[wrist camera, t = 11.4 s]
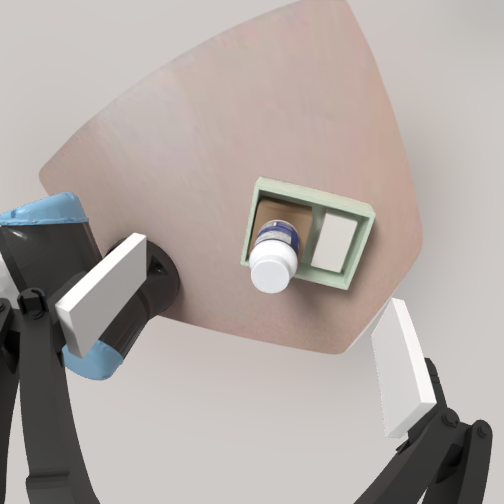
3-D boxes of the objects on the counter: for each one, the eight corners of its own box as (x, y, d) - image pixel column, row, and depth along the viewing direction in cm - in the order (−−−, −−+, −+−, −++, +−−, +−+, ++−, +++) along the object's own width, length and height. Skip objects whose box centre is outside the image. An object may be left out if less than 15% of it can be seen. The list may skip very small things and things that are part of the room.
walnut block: (254, 239, 45) (248, 254, 41) (263, 195, 42) (258, 206, 38) (299, 250, 45) (298, 266, 41) (311, 207, 42) (312, 219, 37)
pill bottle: (294, 260, 40) (289, 304, 32) (254, 251, 41) (240, 292, 32) (304, 224, 38) (302, 261, 29) (262, 214, 38) (248, 248, 29)
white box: (310, 255, 45) (310, 265, 42) (325, 206, 41) (326, 214, 39) (338, 262, 45) (339, 272, 42) (354, 214, 41) (357, 222, 38)
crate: (245, 250, 47) (239, 264, 43) (260, 175, 41) (255, 183, 37) (344, 274, 46) (347, 290, 42) (369, 203, 40) (375, 214, 36)
